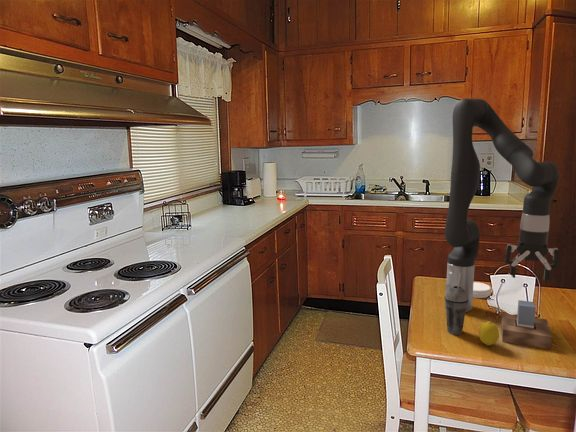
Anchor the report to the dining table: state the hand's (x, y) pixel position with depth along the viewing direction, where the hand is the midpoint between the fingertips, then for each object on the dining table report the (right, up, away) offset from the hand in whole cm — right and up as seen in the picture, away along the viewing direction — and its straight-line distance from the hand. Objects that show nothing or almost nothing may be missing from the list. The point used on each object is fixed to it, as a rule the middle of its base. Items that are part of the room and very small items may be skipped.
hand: (529, 278), depth 131 cm
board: (+1, -19, +4) cm, 19 cm away
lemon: (-14, -21, -2) cm, 25 cm away
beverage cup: (-20, -19, +8) cm, 29 cm away
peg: (0, -19, +4) cm, 19 cm away
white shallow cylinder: (+1, -12, +39) cm, 41 cm away
